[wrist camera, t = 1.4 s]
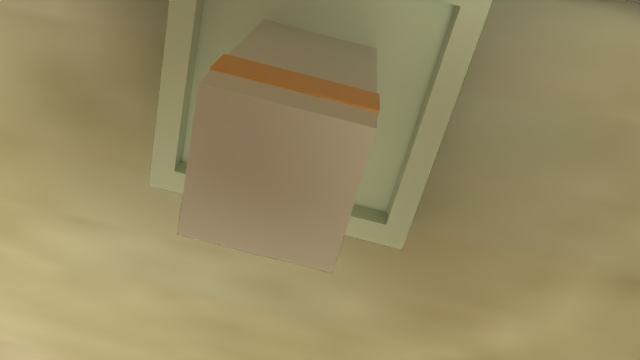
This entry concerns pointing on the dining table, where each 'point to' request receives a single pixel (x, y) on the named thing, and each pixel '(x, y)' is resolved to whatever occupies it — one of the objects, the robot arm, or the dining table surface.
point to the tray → (392, 85)
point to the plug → (281, 145)
